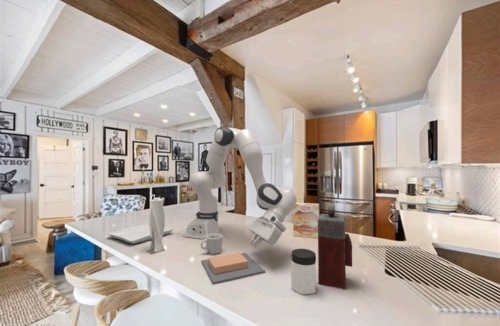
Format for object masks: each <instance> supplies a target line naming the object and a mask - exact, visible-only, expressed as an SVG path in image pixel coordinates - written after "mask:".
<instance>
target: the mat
mask: <svg viewBox="0 0 500 326" xmlns="http://www.w3.org/2000/svg"><path fill="white" fill-rule="evenodd" d="M240 254H241V255H242V256H243V257H245V258H246V259H247V260H248V268H243V269H238V270H233V271H228V272H224V273H219V274H214V273H213V271H212V269H211V268H210V266H209V264H208V259H203V260H200V261H201V262H200V263H201V265H202V266H203V268H204V270H205V273H206V274H207V277H208V278H209V279H210V282H211V283H212V285H216V284H221V283H226V282H230V281H235V280H239V279H244V278H247V277H252V276H257V275H262V274H266V270H265V269H264V268H263V267H262V266H260V264H258V263H257V262H256V261H255V260H254V259H253V257H251V256H249V255H248V253H247V252H242V253H240Z"/></svg>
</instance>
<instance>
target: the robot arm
mask: <svg viewBox="0 0 500 326" xmlns="http://www.w3.org/2000/svg"><path fill="white" fill-rule="evenodd" d="M213 136H214V138H213V140H212V141H211V144H210V146H209V149H208V153H207V155H206V159H205V162H206V164H207V166H208V167H209V170H208V171H198V172H197V171H196V172H195V173H192V174H191V175H190V176H189V183H188V184H189V186H190V187H191V189H193V190H194V191H195V193H196V195H197V197H198V202H199V211H197V212H196V213H195V216H196V218H194V219H193V220H192V221H190V223H188V225H187V228H186V230H185V231H184V232H183V233H182V237H184V238H189V239H190V238H192V239H199V240H204V239H206V236H207V235H209V234H221V232H220V228H219V211H218V198H217V197H216V196H215V195H214V194H213V192H212V190H214V189H219V188H223V187H224V186H226V183H227V176H226V174H225V173H224V165H225V162H226V159H227V155H228V153H229V150H230V149H234V148H235V149H238V151H239V154H240V157H241V159H242V161H243V163H244V165H245V166H246V168H247V170H248V172H249V174H250V176H251V179H252V181H253V185H254V187H255V191H256V204H257V206H258V207H259V208H260V209H261V210H264V211H265V212H264V213H263V215H262V216H260V217H257V218H255V220H254V221H252V223H250V225H249V226H248V230H249V231H250V232H251V233H252V234H253V236H252V238H251V240H250V241H249V244H250V245H252V246H253V248H254V247H255V248H256V247H257V245H259V244H261V243H262V242H263V241H264V242H266V243H267V244H268V245H270V246H273V245H275V244H276V243H277V241H279V239H280V238H281V236H282V234H283V233H284V232H285V231H286V230H287V227H286V226H285V224H284V223H283V222H284V221H285V220H286V217H287V216H289V215H290V214H291V212H292V211H293V208H294V206H295V204H296V203H298V202H297V201H298V199H297V196H296V194H295V193H294V192H293V191H292V190H290V189H289V188H283V187H282V188H281V187H278V186H276V185H274V184H272V183H268V182H267V180H266V178H265V175H264V172H263V162H264V161H263V159H264V157H263V150H262V147H261V146H260V143H259V141H258V139H257V137H256V135H255V134H254V132H253V130H251V129H247V128H246V129H245V128H244V129H239V128H236V127H227V126H219V127H218V128H217V129H216V130H215V132H214V135H213Z"/></svg>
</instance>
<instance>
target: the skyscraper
mask: <svg viewBox="0 0 500 326" xmlns="http://www.w3.org/2000/svg"><path fill="white" fill-rule="evenodd" d="M152 197H153V199H152ZM149 203H150V213H149V223H148V224H149V225H150V236H151V239H150V240H151V243H150V246H149V249H146V250H145V251H146V252H147V253H149V254H150V255H155V254H158V253H162V252H165V250H166V249H165V248H164V244H163V236H164V235H163V232H164V227H166V225H165V223H166V222H165V219H166V218H165V211H164V210H165V209H164V203H165V197H162V198H161V197H156V194H152V195H151V196H150V197H149Z"/></svg>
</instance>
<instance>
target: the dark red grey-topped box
mask: <svg viewBox="0 0 500 326" xmlns="http://www.w3.org/2000/svg"><path fill="white" fill-rule="evenodd" d="M335 208H336V206H335V203H328V204H327V213H321V214H320V213H319V219H318V239H317V259H318V260H317V261H318V262H317V263H318V264H317V265H318V269H317V270H318V272H317V273H318V274H317V276H318V278H317V279H318V281H317V282H318V285H319V286H320V285H321V286H326V287H331V288H335V287H336V289H340V288H341V289H342V290H346V289H347V286H346V285H347V283H346V282H347V279H346V277H347V274H346V267H351V268H352V267H353V244H352V239H351V237H350V233H346V221H345V219H346V218H345V215H343V214H336V209H335Z"/></svg>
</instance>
